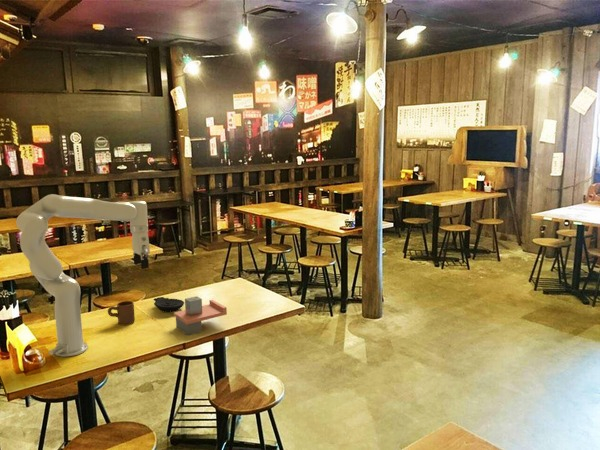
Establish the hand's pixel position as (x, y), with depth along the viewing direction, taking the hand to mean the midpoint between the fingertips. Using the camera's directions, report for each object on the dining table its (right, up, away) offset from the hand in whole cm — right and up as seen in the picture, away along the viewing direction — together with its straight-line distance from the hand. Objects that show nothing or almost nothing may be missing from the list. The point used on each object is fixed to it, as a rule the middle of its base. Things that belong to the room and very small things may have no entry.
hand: (141, 265), depth 224 cm
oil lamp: (+4, -25, +30) cm, 39 cm away
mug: (-13, -28, +12) cm, 33 cm away
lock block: (+23, -22, +4) cm, 32 cm away
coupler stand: (+26, -29, +7) cm, 39 cm away
